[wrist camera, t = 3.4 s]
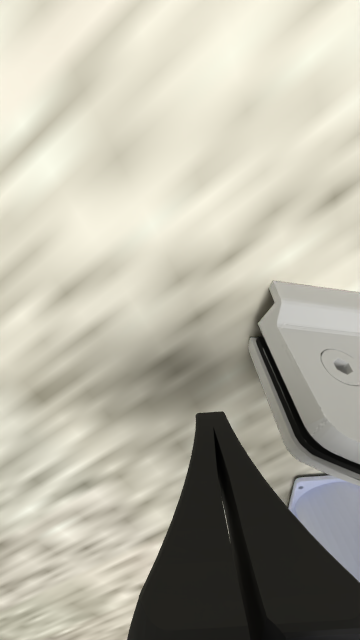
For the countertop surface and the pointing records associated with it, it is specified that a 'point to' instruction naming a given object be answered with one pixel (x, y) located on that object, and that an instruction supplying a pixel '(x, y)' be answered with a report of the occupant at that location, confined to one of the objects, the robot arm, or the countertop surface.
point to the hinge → (313, 374)
